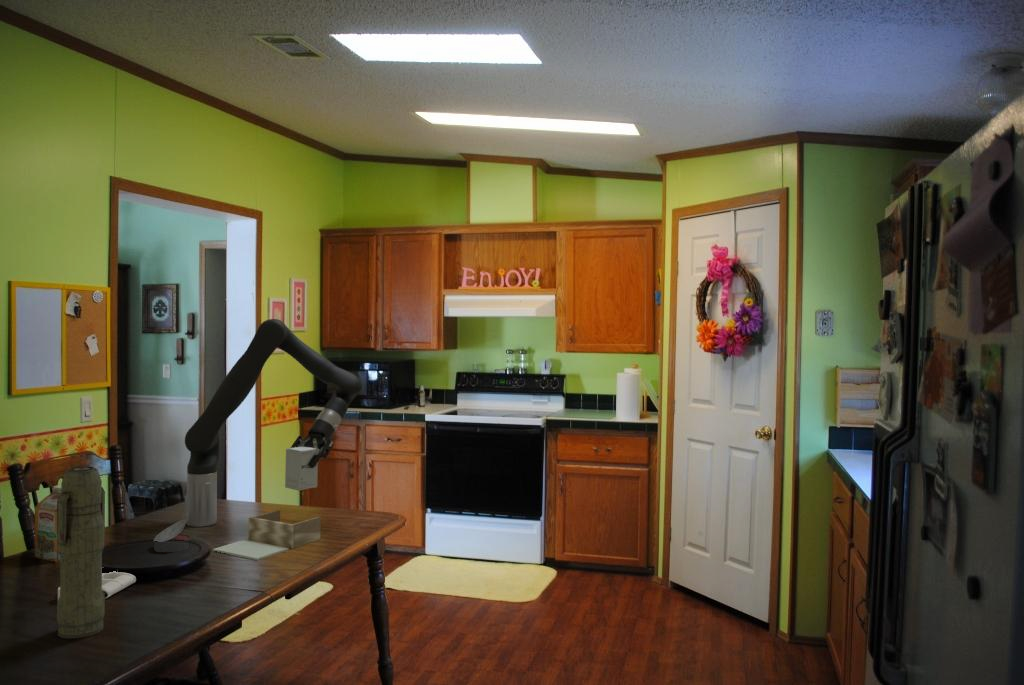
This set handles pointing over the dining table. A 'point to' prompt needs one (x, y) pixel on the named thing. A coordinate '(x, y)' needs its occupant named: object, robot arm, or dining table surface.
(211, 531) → the dining table surface
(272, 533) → the box
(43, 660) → the dining table surface
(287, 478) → the supplement box
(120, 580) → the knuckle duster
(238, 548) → the mat
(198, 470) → the robot arm
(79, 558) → the thermos
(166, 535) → the canned food
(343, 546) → the dining table surface
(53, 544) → the milk carton
